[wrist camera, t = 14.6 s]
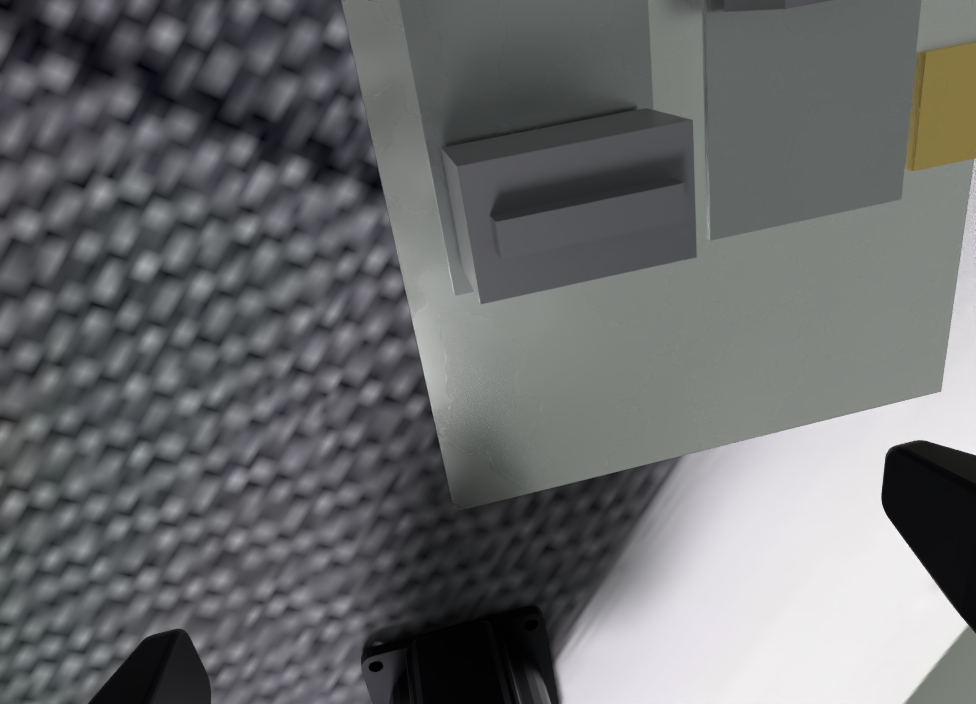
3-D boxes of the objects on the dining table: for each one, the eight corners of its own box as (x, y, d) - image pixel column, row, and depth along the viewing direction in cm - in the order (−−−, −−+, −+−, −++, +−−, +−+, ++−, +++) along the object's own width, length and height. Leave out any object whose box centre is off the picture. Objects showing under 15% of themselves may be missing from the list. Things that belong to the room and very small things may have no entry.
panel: (907, 371, 24) (978, 413, 21) (448, 482, 23) (462, 544, 20) (1034, -718, 14) (1204, -900, 11) (195, -656, 12) (153, -852, 9)
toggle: (652, 229, 18) (709, 265, 15) (463, 269, 18) (485, 314, 15) (646, 107, 17) (706, 123, 14) (441, 148, 16) (461, 172, 14)
